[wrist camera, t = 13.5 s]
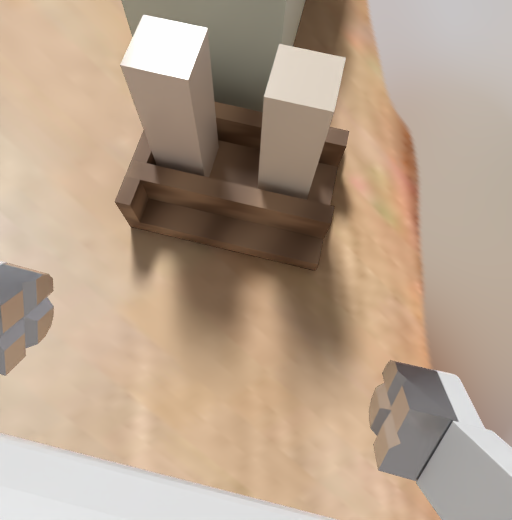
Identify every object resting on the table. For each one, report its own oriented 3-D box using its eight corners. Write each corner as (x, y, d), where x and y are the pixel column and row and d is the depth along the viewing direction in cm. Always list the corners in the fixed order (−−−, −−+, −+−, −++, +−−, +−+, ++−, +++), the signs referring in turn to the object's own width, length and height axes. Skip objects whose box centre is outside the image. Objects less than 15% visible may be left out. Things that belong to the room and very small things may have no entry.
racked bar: (160, 176, 34) (120, 64, 23) (174, 137, 36) (143, 14, 24) (206, 186, 34) (187, 79, 23) (218, 147, 35) (207, 28, 24)
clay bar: (256, 198, 34) (263, 96, 22) (267, 159, 35) (279, 43, 24) (303, 209, 34) (334, 111, 22) (312, 169, 35) (345, 57, 24)
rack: (130, 226, 34) (114, 201, 30) (176, 105, 39) (168, 68, 34) (315, 270, 33) (325, 251, 29) (341, 142, 38) (353, 109, 33)
